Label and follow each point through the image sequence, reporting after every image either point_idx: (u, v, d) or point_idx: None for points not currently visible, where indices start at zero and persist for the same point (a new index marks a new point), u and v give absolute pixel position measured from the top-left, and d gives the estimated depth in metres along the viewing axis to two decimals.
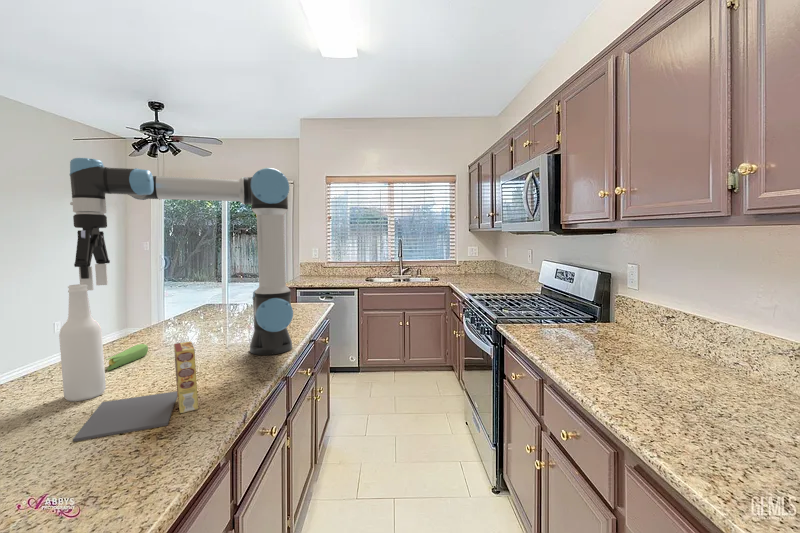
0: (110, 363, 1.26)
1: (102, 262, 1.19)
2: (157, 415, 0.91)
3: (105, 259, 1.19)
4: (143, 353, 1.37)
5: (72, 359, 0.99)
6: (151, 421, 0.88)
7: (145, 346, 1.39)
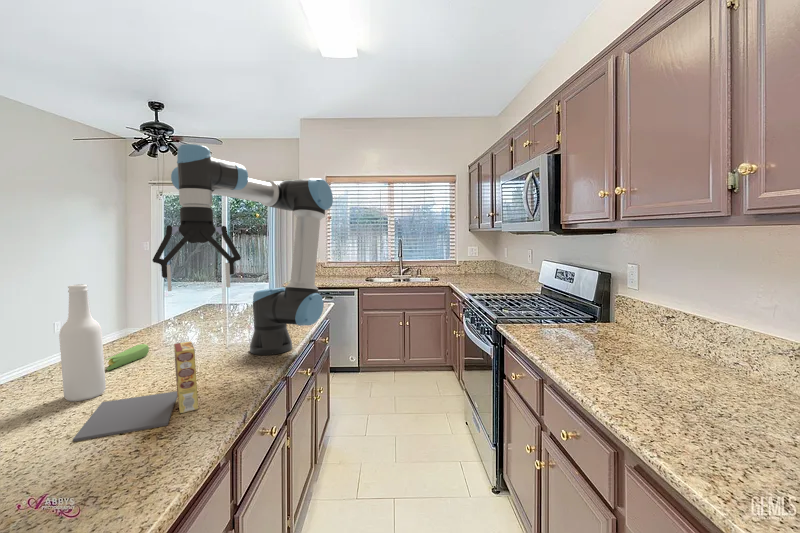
0: (110, 363, 1.25)
1: (228, 261, 1.04)
2: (157, 415, 0.91)
3: (228, 258, 1.03)
4: (144, 353, 1.37)
5: (72, 359, 0.99)
6: (151, 421, 0.88)
7: (146, 346, 1.38)
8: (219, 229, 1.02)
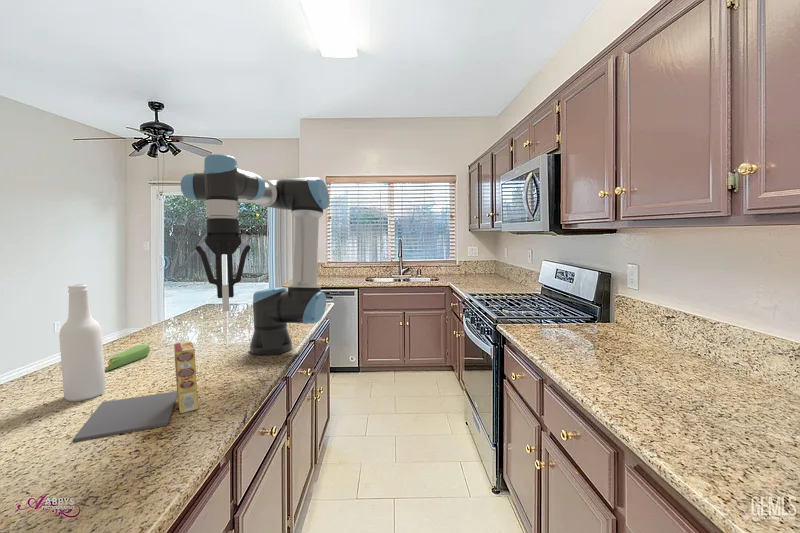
0: (109, 363, 1.25)
1: (228, 283, 0.99)
2: (157, 415, 0.91)
3: (229, 279, 0.98)
4: (144, 353, 1.37)
5: (72, 359, 0.99)
6: (151, 421, 0.88)
7: (146, 346, 1.38)
8: (243, 246, 1.00)
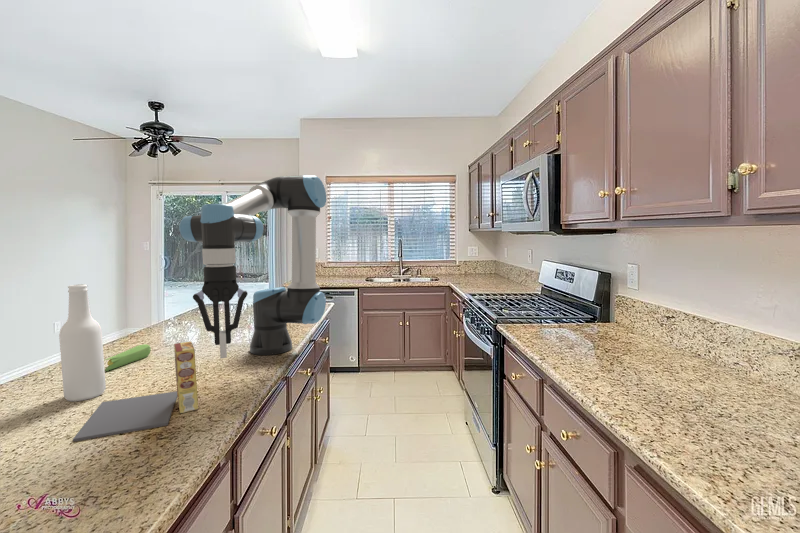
0: (109, 364, 1.25)
1: None
2: (157, 415, 0.91)
3: (227, 325, 0.99)
4: (145, 354, 1.37)
5: (72, 359, 0.99)
6: (151, 421, 0.88)
7: (147, 347, 1.38)
8: (240, 292, 1.00)
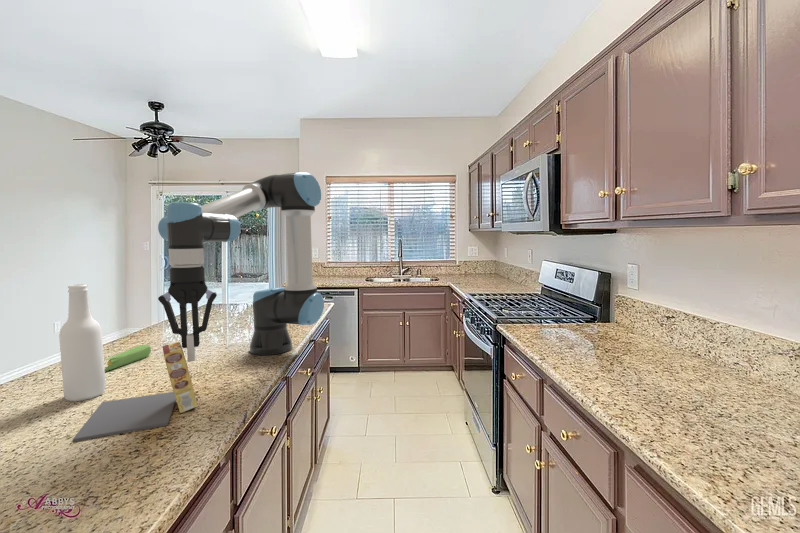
0: (108, 364, 1.25)
1: (193, 332, 0.96)
2: (157, 415, 0.91)
3: (194, 328, 0.96)
4: (145, 354, 1.36)
5: (72, 359, 0.99)
6: (151, 421, 0.88)
7: (147, 347, 1.38)
8: (209, 293, 0.97)
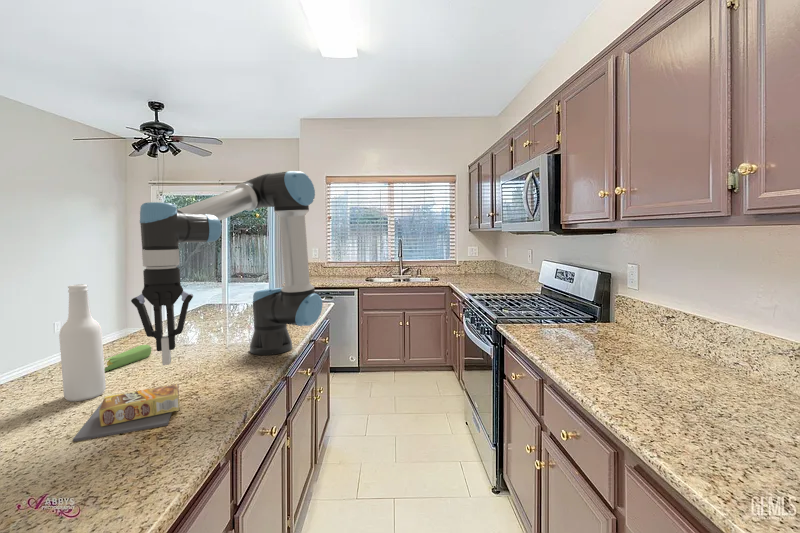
0: (108, 364, 1.25)
1: None
2: (157, 415, 0.91)
3: (169, 331, 0.94)
4: (145, 354, 1.36)
5: (72, 359, 0.99)
6: (151, 421, 0.88)
7: (148, 347, 1.37)
8: (185, 295, 0.95)
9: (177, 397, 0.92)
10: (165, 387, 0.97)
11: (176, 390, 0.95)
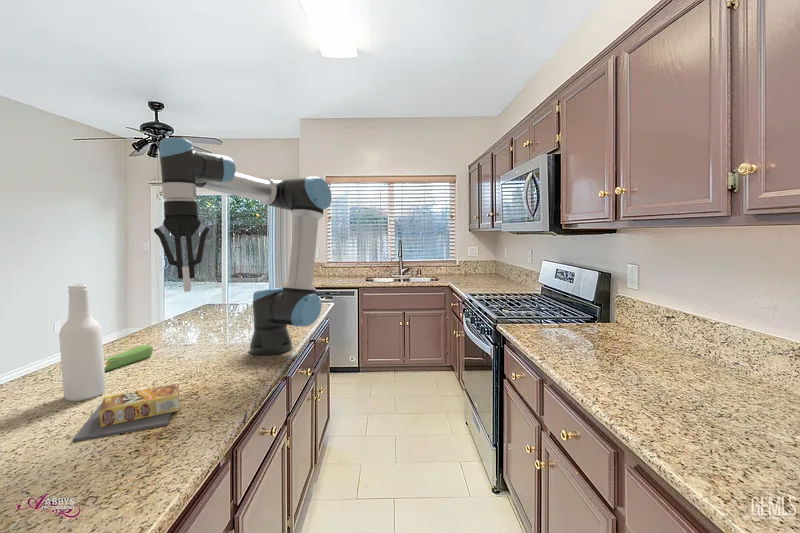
0: (107, 364, 1.25)
1: (188, 264, 1.02)
2: (157, 415, 0.91)
3: (189, 260, 1.01)
4: (146, 354, 1.36)
5: (72, 359, 0.99)
6: (151, 421, 0.88)
7: (148, 347, 1.37)
8: (202, 228, 1.02)
9: (177, 397, 0.92)
10: (165, 387, 0.97)
11: (176, 390, 0.95)
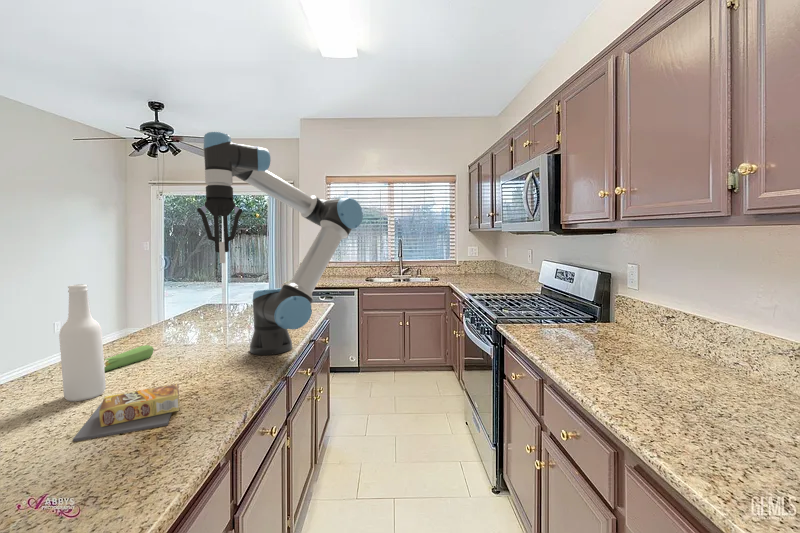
0: (106, 364, 1.24)
1: (224, 240, 1.19)
2: (157, 415, 0.91)
3: (225, 236, 1.18)
4: (146, 355, 1.35)
5: (72, 359, 0.99)
6: (151, 421, 0.88)
7: (149, 348, 1.36)
8: (236, 209, 1.20)
9: (177, 397, 0.92)
10: (165, 387, 0.97)
11: (176, 390, 0.95)
